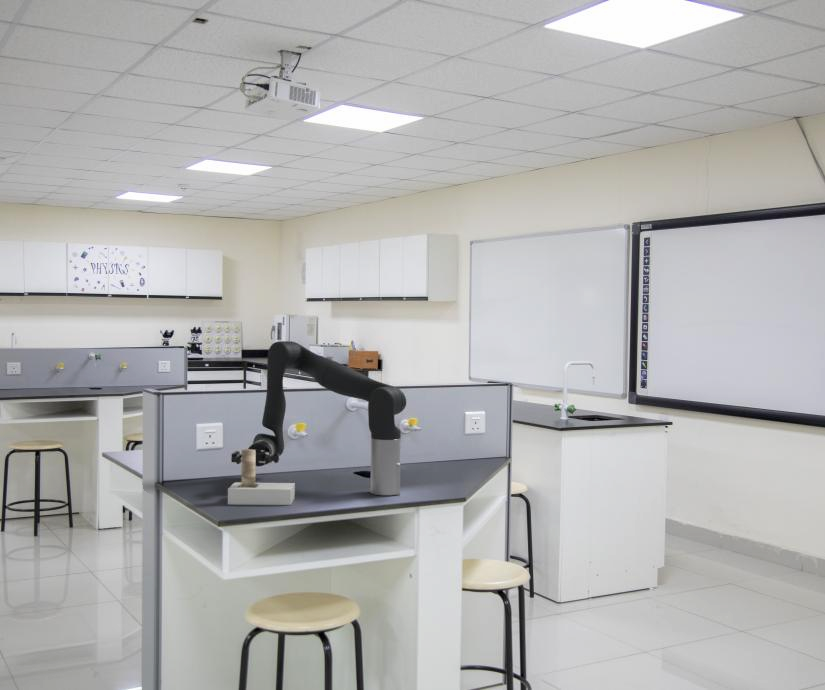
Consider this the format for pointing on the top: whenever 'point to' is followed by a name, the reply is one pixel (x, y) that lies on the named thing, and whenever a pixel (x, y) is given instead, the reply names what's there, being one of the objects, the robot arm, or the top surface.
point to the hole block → (262, 494)
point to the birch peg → (248, 468)
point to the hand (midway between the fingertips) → (251, 460)
